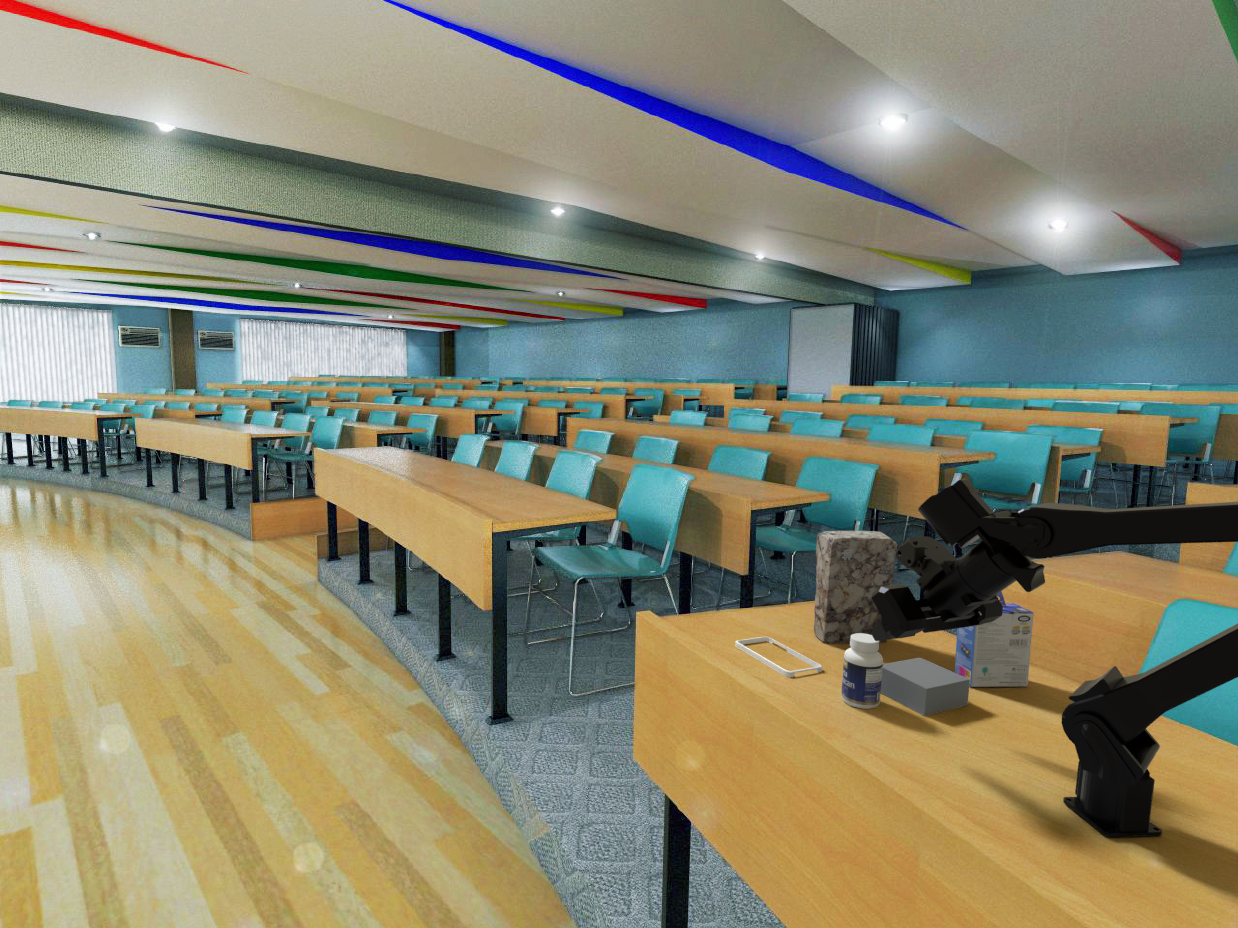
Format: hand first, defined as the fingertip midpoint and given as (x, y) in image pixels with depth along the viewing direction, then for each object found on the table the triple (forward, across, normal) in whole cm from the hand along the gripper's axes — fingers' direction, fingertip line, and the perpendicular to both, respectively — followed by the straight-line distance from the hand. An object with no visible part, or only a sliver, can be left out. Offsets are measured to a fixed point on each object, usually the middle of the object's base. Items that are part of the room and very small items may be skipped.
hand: (898, 633), depth 96 cm
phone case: (+27, +1, -8) cm, 28 cm away
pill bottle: (+13, 0, +5) cm, 14 cm away
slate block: (+11, -10, +6) cm, 16 cm away
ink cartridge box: (+12, -26, +6) cm, 29 cm away
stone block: (+28, -18, -10) cm, 35 cm away
